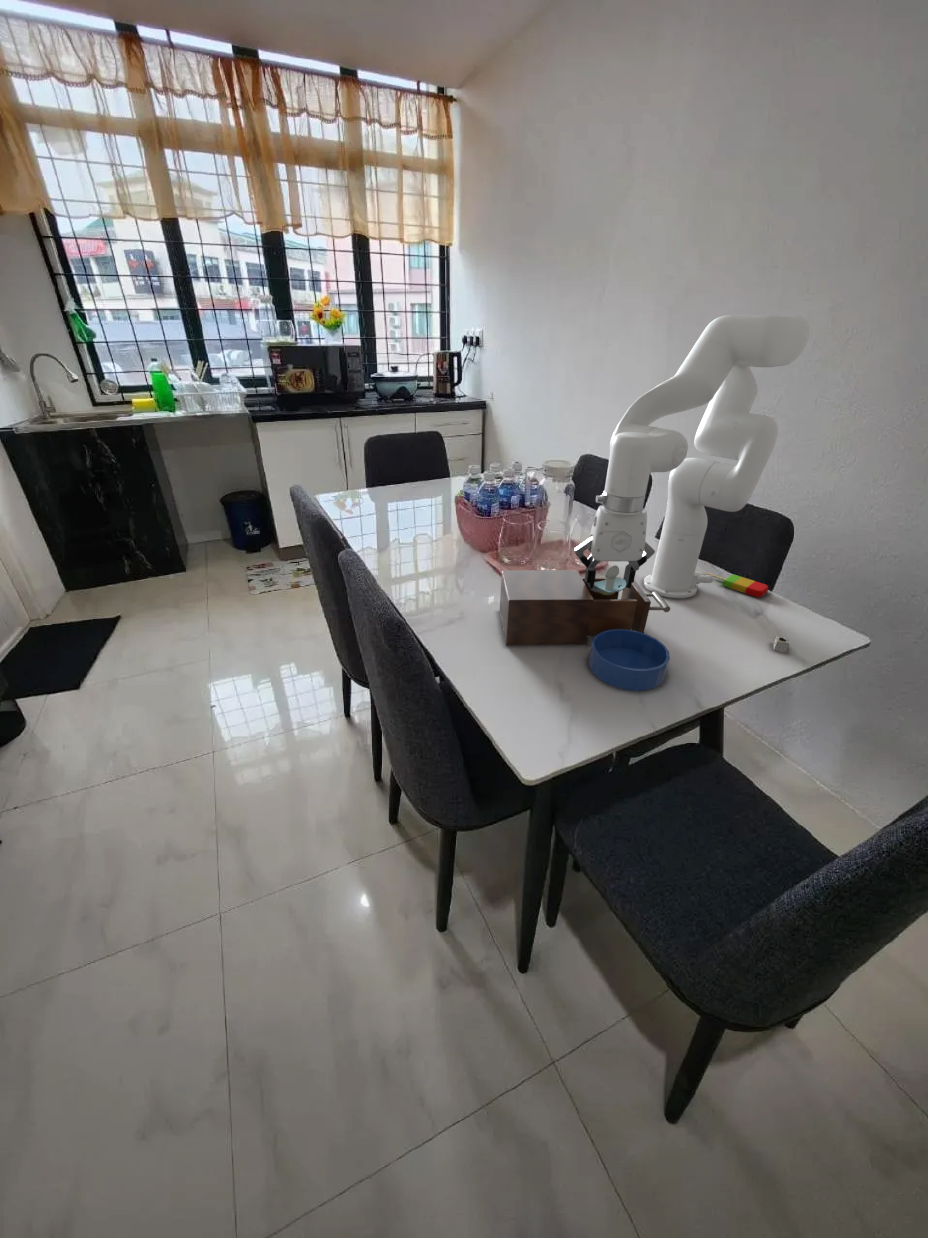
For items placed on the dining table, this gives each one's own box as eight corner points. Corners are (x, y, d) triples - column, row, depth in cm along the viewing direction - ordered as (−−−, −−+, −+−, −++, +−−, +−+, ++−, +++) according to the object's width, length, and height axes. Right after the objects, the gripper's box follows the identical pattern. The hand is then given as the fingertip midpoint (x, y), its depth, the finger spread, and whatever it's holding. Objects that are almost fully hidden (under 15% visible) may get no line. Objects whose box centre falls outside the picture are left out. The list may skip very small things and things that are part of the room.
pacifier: (582, 588, 106) (600, 600, 101) (585, 560, 103) (605, 571, 98) (609, 582, 109) (628, 593, 104) (613, 555, 106) (633, 565, 101)
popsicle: (760, 599, 122) (762, 592, 121) (699, 578, 131) (701, 572, 130) (768, 592, 125) (770, 585, 124) (709, 573, 134) (710, 566, 133)
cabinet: (571, 612, 115) (577, 570, 110) (586, 644, 103) (593, 599, 98) (499, 612, 114) (501, 570, 109) (505, 645, 103) (509, 599, 97)
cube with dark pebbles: (773, 650, 102) (777, 640, 101) (772, 645, 104) (776, 635, 103) (785, 652, 102) (789, 642, 100) (784, 647, 103) (788, 637, 102)
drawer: (648, 609, 115) (656, 574, 110) (669, 638, 104) (679, 601, 100) (556, 610, 114) (561, 575, 109) (568, 639, 103) (573, 602, 99)
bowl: (648, 647, 103) (653, 628, 100) (676, 690, 91) (682, 670, 88) (581, 648, 102) (584, 629, 100) (599, 691, 90) (603, 671, 88)
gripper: (582, 508, 92) (570, 594, 101) (675, 508, 92) (655, 593, 101) (573, 495, 98) (563, 577, 107) (660, 496, 99) (643, 577, 108)
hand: (608, 585), depth 104 cm, fingers closed on pacifier, 7 cm apart
